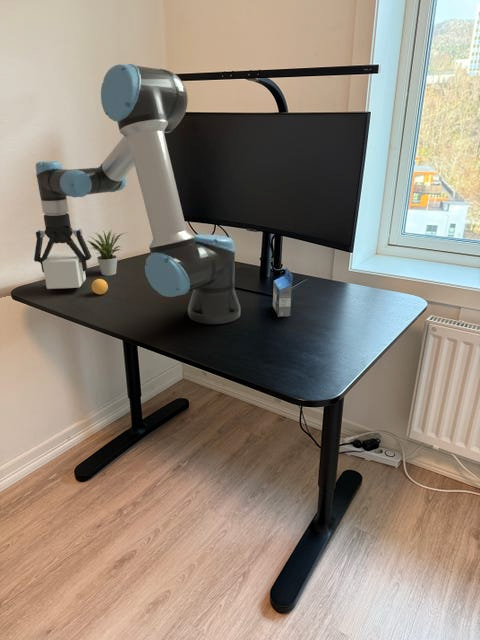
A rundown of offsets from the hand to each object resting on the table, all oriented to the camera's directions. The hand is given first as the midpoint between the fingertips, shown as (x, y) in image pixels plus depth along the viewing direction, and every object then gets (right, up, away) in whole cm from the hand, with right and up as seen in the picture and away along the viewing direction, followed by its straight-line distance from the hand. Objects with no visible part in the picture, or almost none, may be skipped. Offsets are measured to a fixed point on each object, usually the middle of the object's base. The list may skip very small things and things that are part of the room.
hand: (66, 281), depth 151 cm
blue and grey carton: (+70, -10, -15) cm, 72 cm away
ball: (+12, -2, -4) cm, 13 cm away
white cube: (0, -1, 0) cm, 1 cm away
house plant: (+10, +5, +19) cm, 22 cm away
